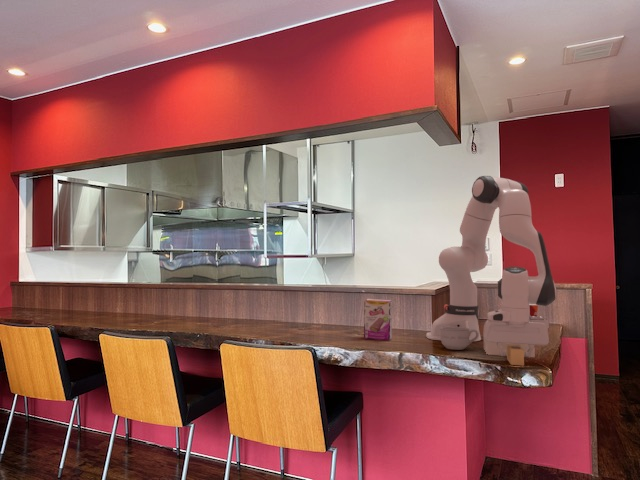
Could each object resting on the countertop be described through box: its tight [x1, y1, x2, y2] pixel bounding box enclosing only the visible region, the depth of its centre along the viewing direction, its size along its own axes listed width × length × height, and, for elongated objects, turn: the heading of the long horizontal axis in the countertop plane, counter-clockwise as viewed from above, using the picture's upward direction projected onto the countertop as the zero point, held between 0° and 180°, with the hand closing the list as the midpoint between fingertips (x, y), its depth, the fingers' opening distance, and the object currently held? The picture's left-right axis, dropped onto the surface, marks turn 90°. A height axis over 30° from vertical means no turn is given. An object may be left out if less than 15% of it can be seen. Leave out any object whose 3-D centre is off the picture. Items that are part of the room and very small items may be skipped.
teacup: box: [440, 327, 479, 351], centre depth 171 cm, size 14×11×8 cm
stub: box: [506, 344, 525, 367], centre depth 151 cm, size 4×8×5 cm, turn 166°
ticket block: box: [483, 339, 536, 358], centre depth 164 cm, size 16×9×5 cm, turn 76°
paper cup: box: [529, 304, 539, 317], centre depth 208 cm, size 8×8×14 cm
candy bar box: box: [363, 298, 393, 342], centre depth 188 cm, size 11×5×16 cm, turn 71°
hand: (515, 356), depth 151 cm, fingers open, 6 cm apart
